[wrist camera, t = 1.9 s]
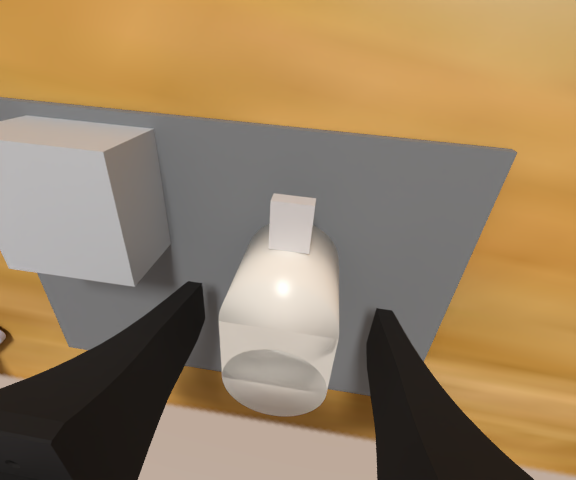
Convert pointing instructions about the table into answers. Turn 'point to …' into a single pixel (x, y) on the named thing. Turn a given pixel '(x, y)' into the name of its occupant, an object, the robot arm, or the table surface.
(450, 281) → the mat
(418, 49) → the table surface
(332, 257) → the plug
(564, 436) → the table surface
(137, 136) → the block
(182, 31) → the table surface
